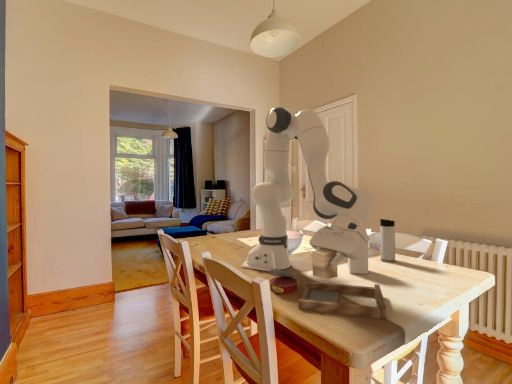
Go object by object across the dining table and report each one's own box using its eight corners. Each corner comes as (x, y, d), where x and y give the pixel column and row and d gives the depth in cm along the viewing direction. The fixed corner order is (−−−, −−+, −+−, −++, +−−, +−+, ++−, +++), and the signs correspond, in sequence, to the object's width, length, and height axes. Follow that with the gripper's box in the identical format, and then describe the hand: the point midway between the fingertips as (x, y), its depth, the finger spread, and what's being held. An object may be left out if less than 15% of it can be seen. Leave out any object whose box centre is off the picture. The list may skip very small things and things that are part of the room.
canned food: (269, 301, 101) (262, 274, 104) (294, 293, 104) (285, 267, 108) (280, 297, 91) (270, 267, 95) (306, 289, 95) (296, 260, 98)
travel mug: (377, 259, 134) (376, 218, 133) (388, 258, 135) (388, 217, 135) (386, 263, 128) (385, 220, 127) (398, 261, 129) (397, 219, 129)
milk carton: (368, 274, 113) (367, 228, 112) (350, 273, 114) (349, 228, 114) (365, 269, 120) (364, 225, 119) (347, 268, 121) (347, 225, 121)
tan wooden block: (324, 280, 85) (323, 254, 85) (312, 275, 90) (312, 251, 90) (337, 276, 88) (336, 251, 88) (325, 272, 93) (324, 248, 92)
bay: (298, 308, 83) (298, 297, 83) (306, 288, 99) (306, 278, 99) (386, 319, 76) (385, 306, 76) (379, 295, 92) (379, 284, 92)
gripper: (318, 220, 101) (297, 250, 96) (364, 226, 83) (341, 264, 79) (327, 231, 103) (307, 261, 99) (374, 239, 85) (353, 277, 81)
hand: (323, 262), depth 88 cm, fingers closed on tan wooden block, 5 cm apart
